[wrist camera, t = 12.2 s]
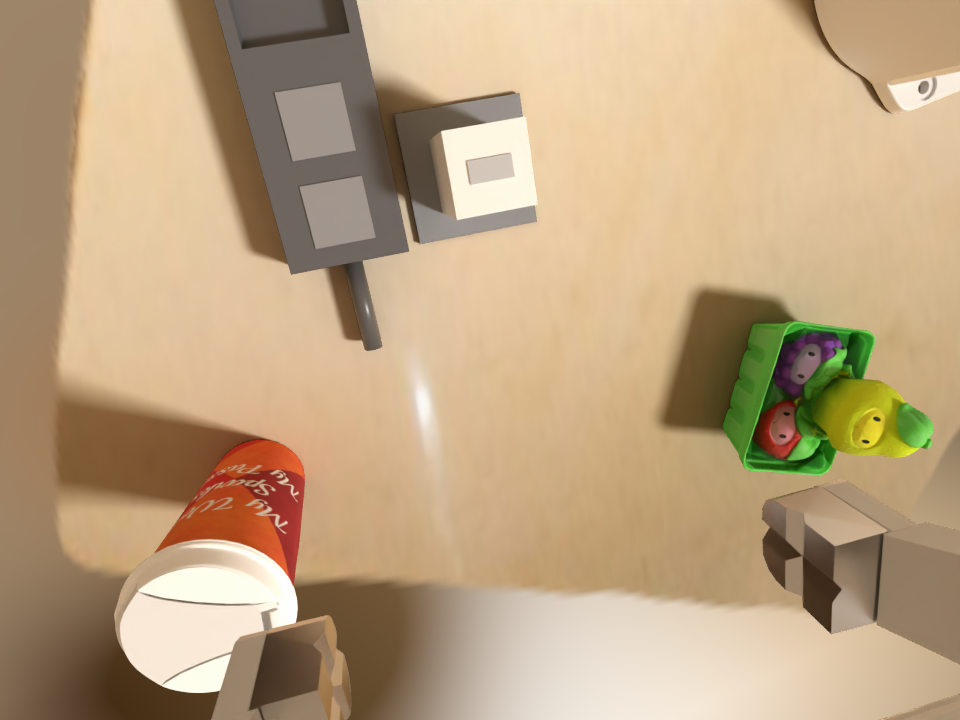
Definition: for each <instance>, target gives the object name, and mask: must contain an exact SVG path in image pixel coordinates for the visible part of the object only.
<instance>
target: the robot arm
mask: <svg viewBox="0 0 960 720" xmlns="http://www.w3.org/2000/svg"><path fill="white" fill-rule="evenodd" d="M814 3H815V8H816V12H817V16H818V20H819V23H820V26H821V28H822V31H823V33H824V35H825V37H826V39H827V41H828V43H829V45H830V46H831V48H832V49H833V51H834V52H835V53H836V55H837V56H838V57H839V58H840V59H841V60H842V61H843V62H844V63H845V64H846V65H847V66H849V67H850V68H851V69H853V70H854V71H856V72H857V73H859V74H860V75H862V76H863V77H865V78H866V79H867V80H868V81H869V82H870V83H871V84H872V85H873V87H874V89H875V91H876V93H877V94H878V96H879V98H880V100H881V102H882V103H883V105H884V106H885V107H886V109H887V110H888V111H890V112H891V113H893V114H900V113H903V112H907V111H911V110H914V109H916V108H919V107H921V106H924V105H926V104H928V103H931V102H933V101H936V100H938V99H940V98H943V97H945V96H947V95H950V94H952V93H955V92H957V91H959V90H960V0H814ZM919 86H920V90H919V91H918V87H919ZM762 520H763V521H764V522H765V523H766V524H767V525H768V526H769V527H770V528H769V529H768V531H767V533H766V534H765V536H764V538H763V539H762V543H763V556H764V558H765V561H766V564H767V566H768V569H769V571H770V572H771V574H772V575H773V577H774V578H775V580H776V581H777V582H778V583H779V584H780V585H781V586H782V587H783V588H784V589H785V590H787V591H790V592H793V593H795V594H798V595H800V596H802V602H803V607H804V608H805V609H806V610H807V611H808V612H809V613H810V614H811V615H812V616H813V617H814V618H815V619H816V620H817V621H818V622H819V623H820V624H821V625H822V626H823V627H824V628H825V629H826V630H827V631H828V632H830V633H831V634H833V633H838V632H841V631H845V630H849V629H853V628H856V627H860V626H864V625H868V624H872V623H875V622H877V625H878V626H880V627H882V628H885V629H887V630H889V631H891V632H893V633H895V634H897V635H899V636H902V637H903V638H906V639H908V640H910V641H912V642H914V643H916V644H918V645H920V646H923V647H925V648H927V649H929V650H931V651H933V652H935V653H937V654H940V655H941V656H943V657H946V658H948V659H950V660H952V661H954V662H956V663H958V664H960V531H959V530H955V529H951V528H947V527H942V526H938V525H934V524H930V523H921V524H916V523H914V522H913V521H911V520H910V519H908V518H907V517H905V516H903V515H902V514H900V513H898V512H897V511H895V510H894V509H892V508H890V507H889V506H887V505H885V504H884V503H882V502H881V501H879V500H877V499H876V498H874V497H872V496H871V495H869V494H868V493H866V492H864V491H863V490H861V489H859V488H858V487H856V486H855V485H853V484H851V483H850V482H848V481H844V480H839V479H838V480H835V481H831V482H828V483H824V484H821V485H817V486H814V487H813V488H809V489H806V490H802V491H798V492H794V493H791V494H787V495H783V496H780V497H776V498H772V499H768V500H766V501H765V503H764V505H763V508H762ZM336 640H337V632H336V629H335V626H334V623H333V620H332V618H331V617H330V616H329V615H327V616H322V617H318V618H314V619H309V620H305V621H301V622H297V623H293V624H288V625H284V626H280V627H276V628H272V629H270V630H265V631H261V632H257V633H253V634H249V635H245V636H241V637H240V638H239V639H238V640H237V641H236V642H235V644H234V647H233V650H232V653H231V656H230V660H229V663H228V666H227V670H226V673H225V676H224V680H223V683H222V686H221V689H220V693H219V696H218V699H217V703H216V706H215V710H214V713H213V716H212V719H211V720H347V718H348V717H349V715H350V714H351V692H350V680H349V674H348V669H347V665H346V661H345V658H344V654H343V653H342V652H340V651H339V650H337V649H336ZM880 720H960V694H958V695H955V696H951V697H948V698H945V699H943V700H939V701H936V702H933V703H930V704H927V705H924V706H920V707H918V708H914V709H911V710H908V711H905V712H902V713H899V714H896V715H893V716H889V717H886V718H883V719H880Z"/></svg>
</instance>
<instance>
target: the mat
mask: <svg viewBox="0 0 960 720" xmlns="http://www.w3.org/2000/svg"><path fill="white" fill-rule="evenodd" d="M520 117H523V115H522V108H521V100H520V93H517V94H511V95H505V96H499V97H493V98H487V99H481V100H475V101H469V102H463V103H457V104H452V105H446V106H440V107H434V108H428V109H422V110H416V111H410V112H404V113H398V114H394V118H395V123H396V128H397V133H398V138H399V143H400V148H401V153H402V158H403V163H404V167H405V172H406V177H407V182H408V187H409V192H410V197H411V202H412V207H413V212H414V217H415V222H416V226H417V231H418V236H419V241H420V244H424V243H429V242H434V241H440V240H445V239H450V238H455V237H460V236H465V235H470V234H475V233H480V232H486V231H491V230H496V229H501V228H506V227H511V226H516V225H521V224H526V223H532V222H537V218H536V211H535V205H533V206H528V207H522V208H517V209H512V210H507V211H502V212H496V213H491V214H486V215H481V216H476V217H470V218H465V219H460V220H456V219H454V218H452V217H449V216H447V215H445V214H443V213H442V207H441V202H440V197H439V191H438V186H437V181H436V175H435V170H434V165H433V159H432V154H431V149H430V143H429V140H430V139H432V138H433V137H434V136H435V135H437V134H438V133H439V132H441V131H445V130H451V129H456V128H462V127H468V126H474V125H479V124H485V123H491V122H497V121H502V120H508V119H514V118H520Z"/></svg>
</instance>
